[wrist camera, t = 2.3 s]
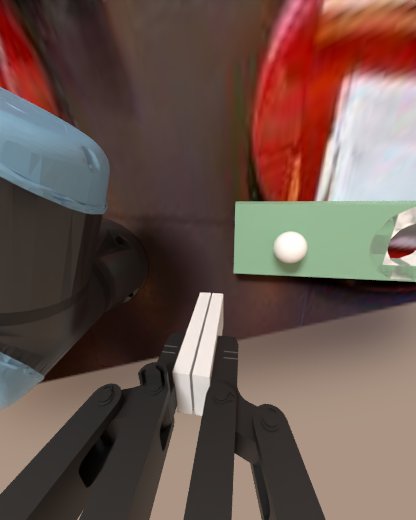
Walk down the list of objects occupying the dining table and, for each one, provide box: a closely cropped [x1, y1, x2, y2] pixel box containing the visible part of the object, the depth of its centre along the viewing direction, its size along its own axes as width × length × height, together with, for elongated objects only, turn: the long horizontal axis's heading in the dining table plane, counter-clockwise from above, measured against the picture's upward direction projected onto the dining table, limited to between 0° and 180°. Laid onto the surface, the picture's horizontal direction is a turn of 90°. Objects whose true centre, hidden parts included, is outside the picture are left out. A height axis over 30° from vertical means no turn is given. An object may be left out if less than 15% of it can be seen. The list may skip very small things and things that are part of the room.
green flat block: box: [234, 201, 416, 282], centre depth 28 cm, size 28×10×4 cm, turn 91°
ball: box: [273, 231, 307, 263], centre depth 27 cm, size 4×4×4 cm
